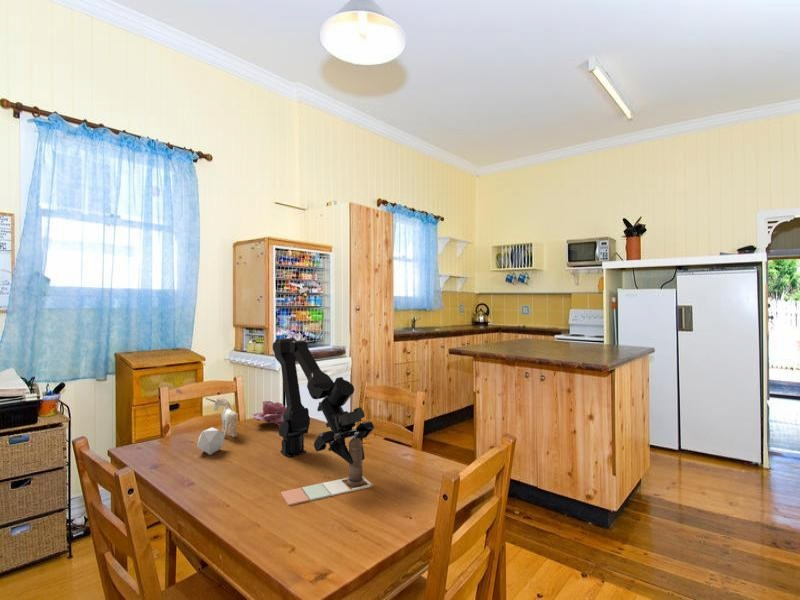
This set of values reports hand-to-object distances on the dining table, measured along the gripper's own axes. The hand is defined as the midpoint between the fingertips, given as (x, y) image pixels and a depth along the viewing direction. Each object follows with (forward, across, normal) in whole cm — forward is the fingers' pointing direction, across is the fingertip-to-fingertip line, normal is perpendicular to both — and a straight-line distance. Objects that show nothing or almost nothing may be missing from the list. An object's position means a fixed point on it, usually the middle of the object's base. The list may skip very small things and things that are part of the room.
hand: (357, 461), depth 123 cm
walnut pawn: (+4, 0, +5) cm, 7 cm away
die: (-34, -20, +44) cm, 59 cm away
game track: (+2, -8, +7) cm, 11 cm away
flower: (-45, +10, +54) cm, 71 cm away
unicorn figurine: (-45, -11, +54) cm, 71 cm away
